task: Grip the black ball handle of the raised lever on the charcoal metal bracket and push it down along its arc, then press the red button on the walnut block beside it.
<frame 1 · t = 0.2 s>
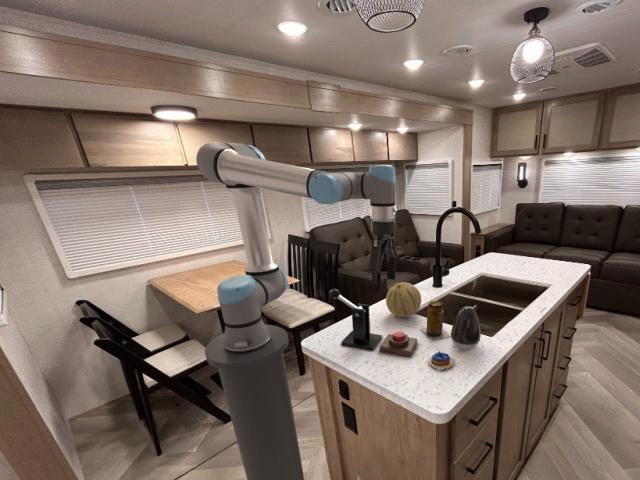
hand: (384, 285, 105), 22 cm above the countertop, tool pointing down, fingers open, 13 cm apart
condiment: (434, 333, 122), on the countertop
button: (398, 336, 111), point 5 cm above the countertop, slide at 0.2 cm
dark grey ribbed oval: (464, 346, 113), on the countertop
lever: (347, 302, 112), point 15 cm above the countertop, hinge at 30.0°
dessert: (441, 363, 104), on the countertop
button block: (398, 347, 112), on the countertop
cantaloupe: (403, 316, 136), on the countertop
bracket: (362, 341, 116), on the countertop
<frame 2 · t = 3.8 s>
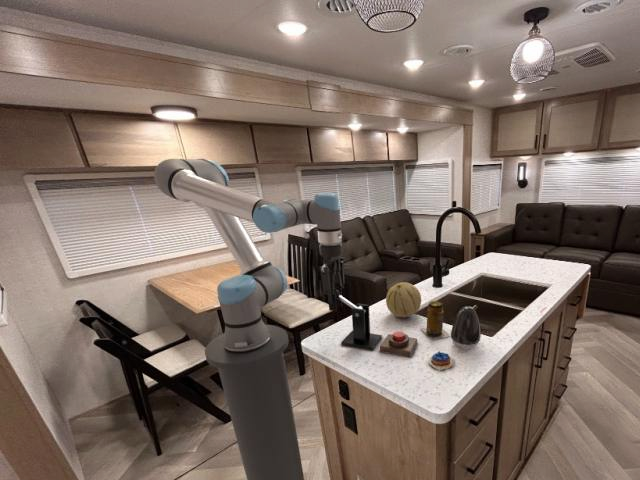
hand: (336, 307, 114), 12 cm above the countertop, tool pointing down, fingers closed on lever, 4 cm apart
lever: (347, 302, 112), point 15 cm above the countertop, hinge at 30.0°, touching gripper
everything else where it was.
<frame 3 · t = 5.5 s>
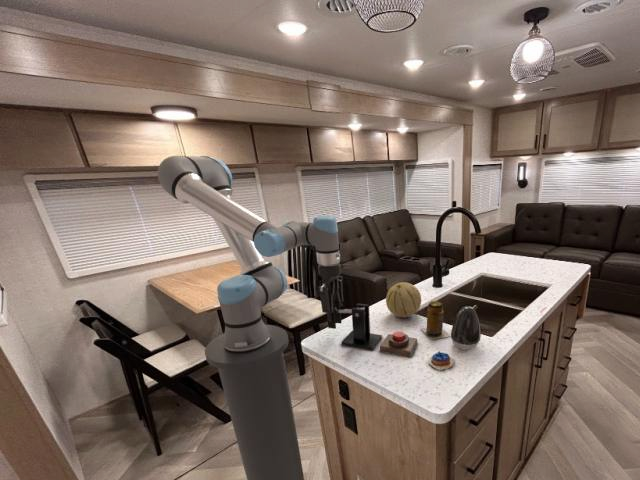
hand: (335, 325, 117), 5 cm above the countertop, tool pointing down, fingers closed on lever, 4 cm apart
lever: (346, 311, 113), point 11 cm above the countertop, hinge at -6.0°, touching gripper
everything else where it was.
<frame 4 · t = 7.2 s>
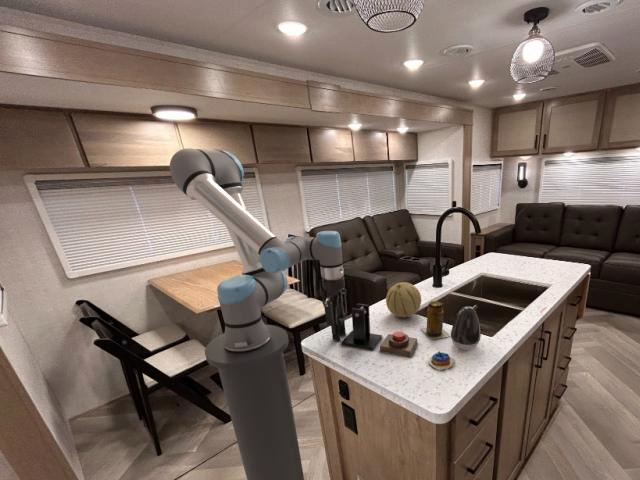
hand: (339, 337, 119), 0 cm above the countertop, tool pointing down, fingers closed on lever, 4 cm apart
lever: (348, 317, 114), point 9 cm above the countertop, hinge at -30.6°, touching gripper
everything else where it was.
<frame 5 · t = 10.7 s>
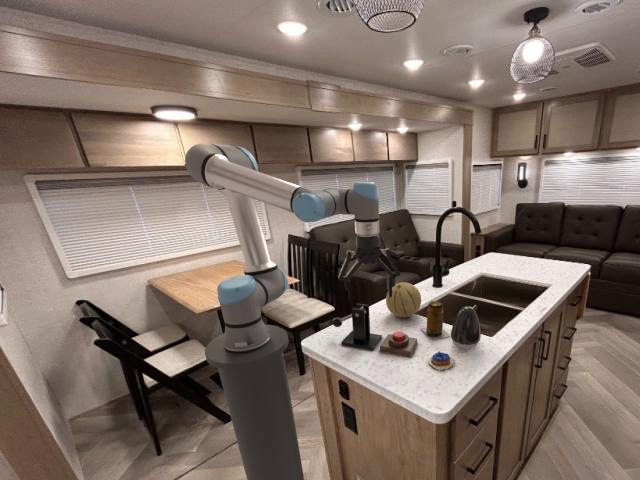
hand: (370, 297, 108), 18 cm above the countertop, tool pointing down, fingers open, 13 cm apart
lever: (348, 317, 114), point 9 cm above the countertop, hinge at -30.6°
everything else where it was.
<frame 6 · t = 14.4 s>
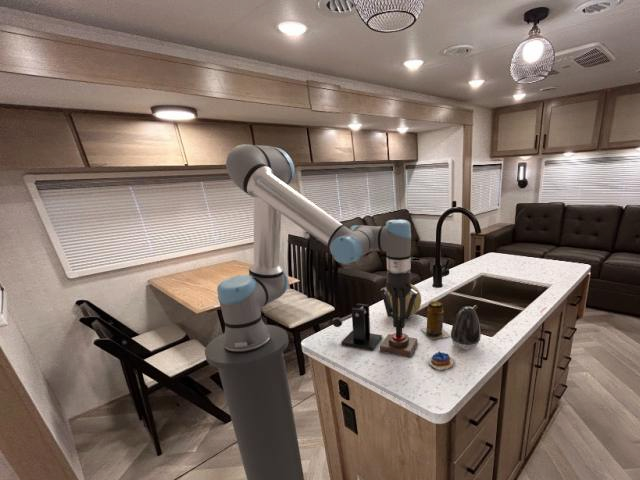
hand: (399, 335, 110), 5 cm above the countertop, tool pointing down, fingers closed
button: (398, 338, 111), point 4 cm above the countertop, slide at -0.7 cm, touching gripper
everything else where it was.
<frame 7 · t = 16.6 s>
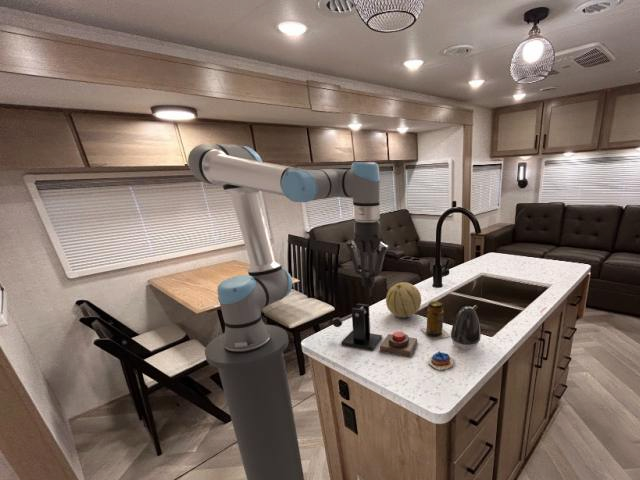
hand: (368, 295, 102), 21 cm above the countertop, tool pointing down, fingers closed
button: (398, 336, 111), point 5 cm above the countertop, slide at 0.1 cm
everything else where it was.
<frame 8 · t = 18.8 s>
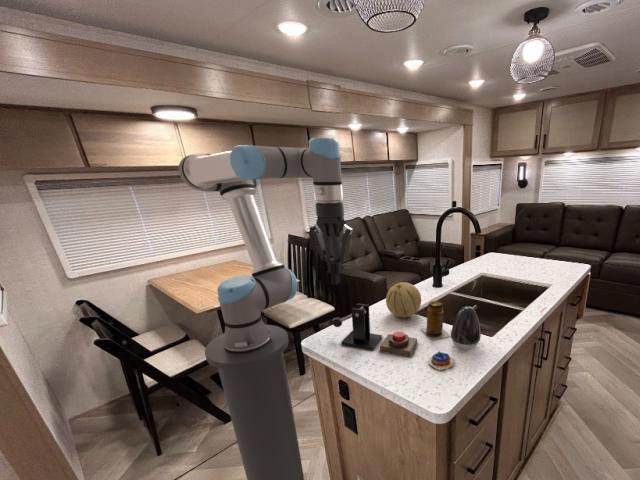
hand: (335, 283, 96), 26 cm above the countertop, tool pointing down, fingers closed
nothing on the countertop moved.
at the end: lever at -31° (first picture: +30°); button pushed in 1.0 cm at the most during the clip, back to where it started at the end; button slide at 0.1 cm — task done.
